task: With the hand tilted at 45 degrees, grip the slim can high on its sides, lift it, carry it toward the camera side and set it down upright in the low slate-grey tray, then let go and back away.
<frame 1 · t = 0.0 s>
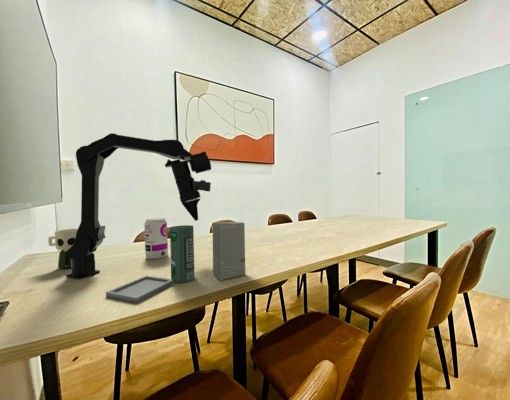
hand: (195, 219, 83), 15 cm above the table, tool pointing down, fingers open, 9 cm apart
character mug: (69, 267, 81), on the table
skincare box: (229, 275, 69), on the table
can: (183, 279, 66), on the table
tray: (142, 290, 59), on the table
supplement can: (157, 257, 92), on the table
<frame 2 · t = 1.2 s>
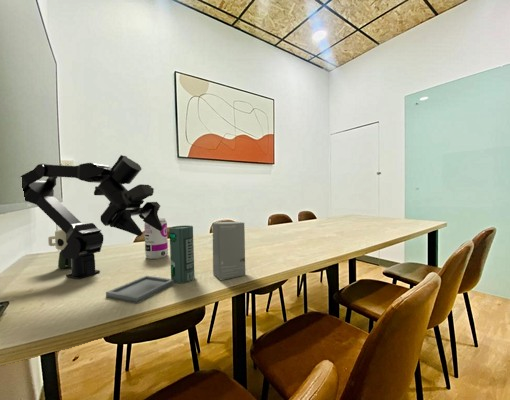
hand: (152, 232, 67), 13 cm above the table, tool tilted 45°, fingers open, 9 cm apart
nothing on the table moved.
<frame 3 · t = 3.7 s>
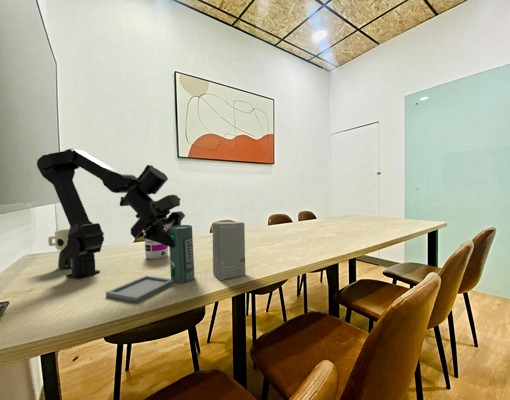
hand: (180, 243, 65), 10 cm above the table, tool tilted 45°, fingers closed on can, 6 cm apart
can: (183, 279, 66), on the table, touching gripper
everything else where it was.
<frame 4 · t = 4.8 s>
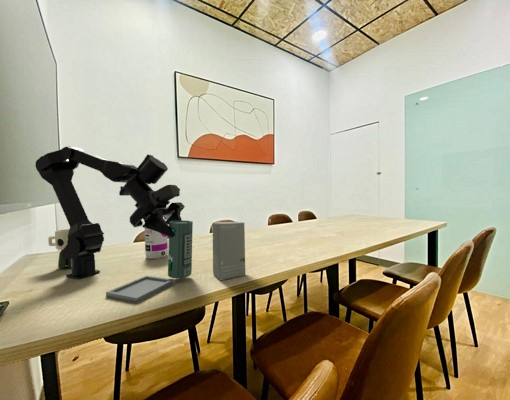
hand: (179, 233, 65), 13 cm above the table, tool tilted 45°, fingers closed on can, 6 cm apart
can: (179, 275, 66), point 1 cm above the table, touching gripper
everything else where it was.
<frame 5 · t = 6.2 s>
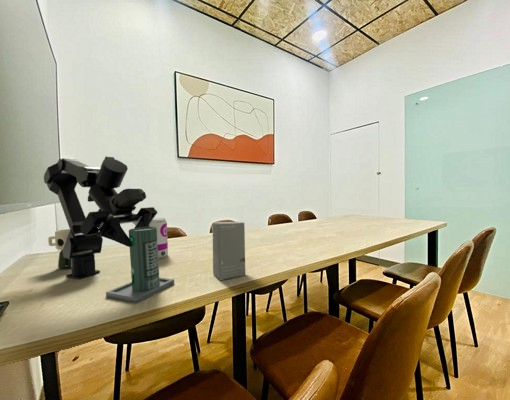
hand: (141, 242, 59), 12 cm above the table, tool tilted 45°, fingers closed on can, 6 cm apart
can: (146, 287, 59), point 1 cm above the table, touching gripper, tray
everything else where it was.
when the fingers open (12 cm above the table, at t = 6.6 s): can stays where it is, resting on tray.
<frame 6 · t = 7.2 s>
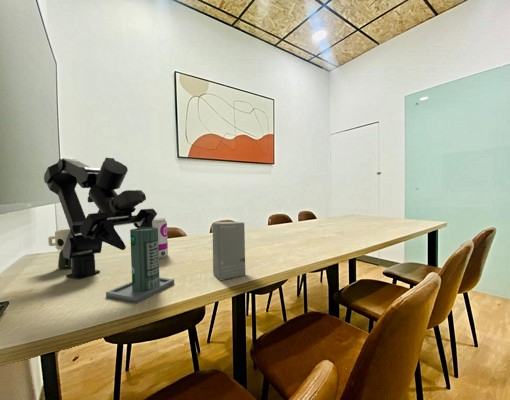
hand: (140, 244, 59), 12 cm above the table, tool tilted 45°, fingers open, 9 cm apart
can: (146, 287, 59), resting on tray
everything else where it was.
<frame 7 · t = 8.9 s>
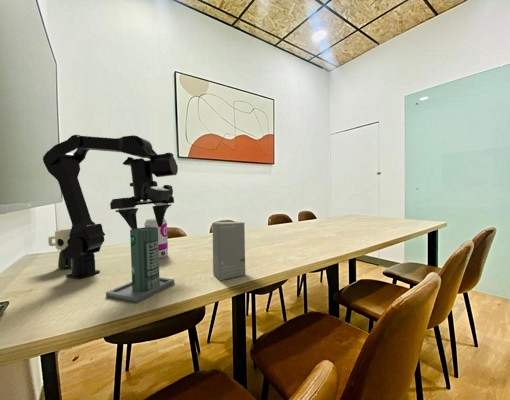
hand: (148, 229, 71), 14 cm above the table, tool pointing down, fingers open, 9 cm apart
nothing on the table moved.
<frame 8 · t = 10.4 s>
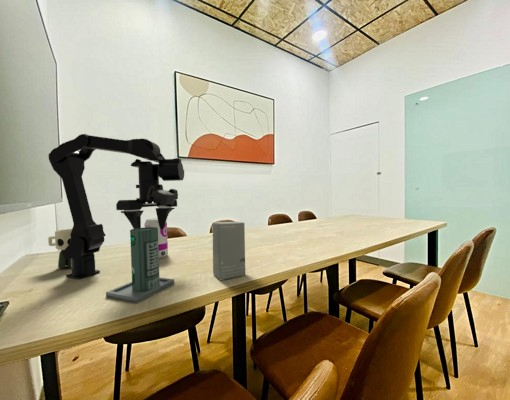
hand: (150, 231, 72), 13 cm above the table, tool pointing down, fingers open, 9 cm apart
nothing on the table moved.
at the end: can inside the target area on the tray (0.9 cm from its centre), point 0.4 cm above the tray's base; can tilted 0°; the gripper is holding nothing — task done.
